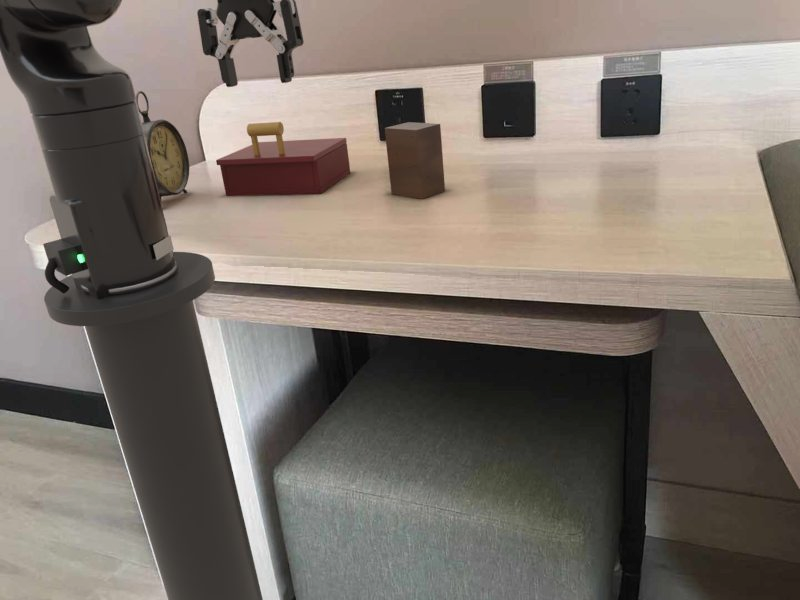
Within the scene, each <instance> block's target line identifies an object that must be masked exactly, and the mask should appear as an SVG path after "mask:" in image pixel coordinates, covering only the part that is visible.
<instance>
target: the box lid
mask: <svg viewBox="0 0 800 600" xmlns="http://www.w3.org/2000/svg"><path fill="white" fill-rule="evenodd" d="M284 131H285V128H284V125H283V123H282V122H281V121H273V122H271V121H270V122H256V123H248V124H247V126H246V134H247V135H248V136H249V137H250V139H251V144H250V145H248V146H246V147H243V148H240V149H238V150H237V151H234V152H231V153H229V154H227V155H225V156H222V157H220V158H217V159H216V160H215V161H216V166H220V165H237V164H261V163H285V162H309V161H315V160H317V159H319V158H321V157H322V156H324V155H326V154H328V153H329V152H331V151H333V150H335V149H336V148H338V147H340V146H342V145H344V144H345V143H347V138H346V137H334V138H333V137H332V138H315V139H314V138H313V139H297V140H296V139H293V140H284V139H283V134H284ZM267 136H275V140H276V141H274V140H273V141H259V140H258V137H267Z"/></svg>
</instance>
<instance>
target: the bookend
mask: <svg viewBox="0 0 800 600" xmlns="http://www.w3.org/2000/svg"><path fill="white" fill-rule="evenodd" d="M384 136H385V137H384V138H385V146H386V155H387V164H388V175H389V183H390V184H389V185H390V191H391V192H390V193H391V195H396V196H402V197H408V198H412V199H413V198H414V199H421V200H423V199H427V198H429V197H432V196H435V195H437V194H440V193H443V192H446V184H445V169H444V157H443V143H442V142H443V141H442V129H441V123H434V122H433V123H429V122H411V121H408V122H404V123H399V124H396V125H391V126H388V127H384Z"/></svg>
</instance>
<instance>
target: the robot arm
mask: <svg viewBox="0 0 800 600" xmlns="http://www.w3.org/2000/svg"><path fill="white" fill-rule="evenodd" d="M122 1H123V0H0V55H1V58H2V61H3V63H4V66H5V69H6V71H7V73H8V76H9V78H10V79H11V81H12V82H13V84H14V86H16V88H17V89H18V91H19V92H20V93H21V94H22V96H23V98H24V99H25V101H26V104H27V107H28V109H29V113H30V116H31V120H32V124H33V126H34V130H35V133H36V136H37V140H38V144H39V146H40V149H41V153H42V156H43V160H44V163H45V167H46V170H47V172H48V177H49V180H50V183H51V187H52V189H53V193H54V194H52V195H51V194H50V196H49V197H48V198H49V203H50V207H51V210H52V213H53V217H54V220H55V223H56V226H57V227H56V228H57V230H58V233H59V236H60V238H59V239H55V240H52V241H47V242H45V243H43V245H42V246H43V248H44V252H45V256H46V259H47V264H46V266H45V270H44V277H45V280H46V282H47V283H48V284H49V285H50V286H51V287H52V286H53V287H54V288H56V289H57V290H59V291H61V292H62V293H66V292H67V291H68V290H69V287H68V286H67V285H65V284H64V283H62V282H61V280H59V279H58V278H57V276H56V273H55V272H58V273H60V274H62V275H63V276H66V277H68V276H70V275H72V276H73V279H74V283H75V286H76V288H78V289H80V290H82V291H83V292H85V293H86V294H89V295H91V296H92V297H94V298H96V299H102V298H105V297H109V296H114V295H121V294H127V293H132V292H137V291H140V290H144V289H147V288H150V287H153V286H156V285H158V284H161V283H163V282H165V281H167V280H168V279H170V278H171V277H173V276H174V275H175V274H176V273H177V271H178V268H177V263H176V261H175V259H174V253H173V252H174V244H173V241H172V237H171V235H169V232H168V227H167V221H166V219H165V215H164V210H163V206H162V200H161V201H160V197H159V193H158V189H157V184H156V180H155V176H154V172H153V168H152V164H151V160H150V155H149V151H148V147H147V143H146V139H145V135H144V130H143V126H142V122H143V121H142V117H141V113H140V112H139V109H140V108H139V109H138V106H139V104H138V105H137V101H136V93H135V88H134V84H133V81H132V78H131V76H130V75H129V73H128V72H127V71H126V70H125V69H123V68H121V67H119V66H117V65H115V64H113V63H112V62H110V61H108V59H107V60H106V59H105V58H104V57H103V56H102V55H101V54H100V52H99V51H98V50H97V49H96V47H95V46H94V44H93V40H92V38H91V35H90V33H89V29H88V27H93V26H97V25H101V24H103V23H105V22H107V21H109V20H110V19H111V18H113V16H115V14H116V13H117V11H118V10H119V9H120V7H121V4H122ZM216 1H217V6H216V8H215V9H213V8H210V7H209V8H199V9H198V10H197V21H198V27H199V35H200V40H201V47H202V52H203V54H204V55H205V56H210V57H213V58H215V59H216V60H217V61H218V66H219V67H218V68H219V71H220V76H221V81H222V82H223V84H225V86H226V87H227V88H233V87H237V86H238V84H239V81H238V76H237V70H236V65H235V60H234V58H233V57H232V55H233V53H234V50H235V48H236V46H237V45H238V44H239V42H240V40H244V39H246V40H247V39H251V38H252V39H257V38H263V39H264V40H265V41H266V42H269V43H270V45H271V46H272V47H273V48H274V49H275V50H276V52H277V53H278V54H276V61H277V67H278V73H279V79H280V83H282V84H287V83H291V82H292V81H293V78H294V76H295V67H294V61H293V51H294V50H295V49H297V48H298V47H302V46H303V45H304V44H305V43H304V36H303V32H302V31H303V30H302V27H301V26H302V25H301V20H300V16H299V11H298V6H297V1H296V0H280V1H279V0H278V1H275V0H216ZM277 13H278V16H279V17H280V18H281V19H282V20H283V26H284V30H285V35H286V37H285V35H284V32H283V31H282V29H281V28H279V26H278V25H277V24H276V23H275V22H274V19H275V16H276V14H277ZM219 21H220V22H221V23H222V24H223V29H222V31H221V33H220V35H218V30H217V25H218V23H219ZM218 36H219V37H218Z"/></svg>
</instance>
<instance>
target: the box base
mask: <svg viewBox="0 0 800 600" xmlns="http://www.w3.org/2000/svg"><path fill="white" fill-rule="evenodd" d="M349 157H350V156H349V149H348V144H347V143H345V144H344V145H342V146H340V147H338V148H336V149H335V150H333V151H331V152H329V153H328V154H326V155H324V156H322V157H321V158H319V159H317V160H315V161H309V162H285V163H261V164H237V165H219V167H220V173H221V178H222V182H223V187H224V192H225V196H226V197H239V196H240V197H241V196H242V197H243V196H275V195H278V196H279V195H316V194H318V195H319V194H323V193H324V192H326V191H327V190H328V189H330V188H331V187H333V186H335V185H336V184H338V183H339V182H340V181H341V180H343V179H344V178H346V177H347V176H349V175H350V174H351V165H350V158H349Z"/></svg>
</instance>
